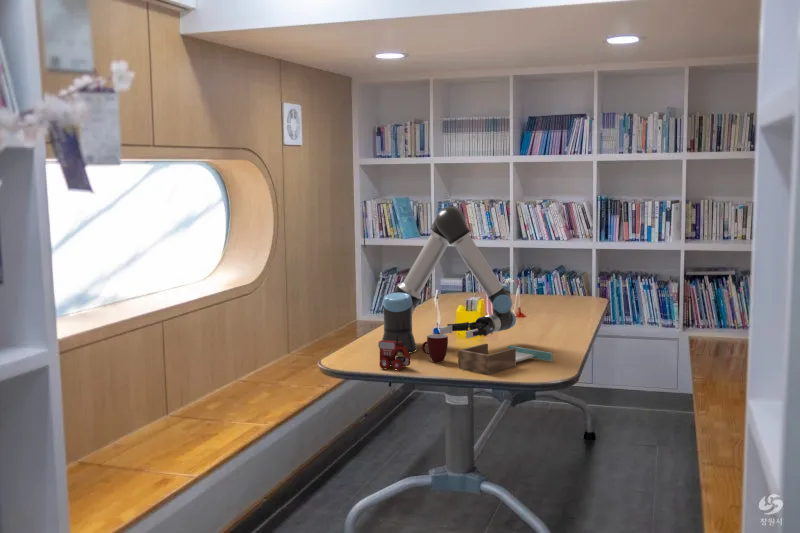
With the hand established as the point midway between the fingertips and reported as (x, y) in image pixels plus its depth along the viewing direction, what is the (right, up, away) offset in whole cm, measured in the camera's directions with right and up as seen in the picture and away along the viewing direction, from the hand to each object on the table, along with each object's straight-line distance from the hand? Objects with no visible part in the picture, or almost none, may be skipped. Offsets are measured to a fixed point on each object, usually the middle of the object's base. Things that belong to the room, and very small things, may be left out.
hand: (453, 333), depth 316 cm
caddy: (+11, -11, -18) cm, 24 cm away
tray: (+24, -10, -9) cm, 28 cm away
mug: (-8, -11, -6) cm, 15 cm away
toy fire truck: (-23, -12, -16) cm, 31 cm away
